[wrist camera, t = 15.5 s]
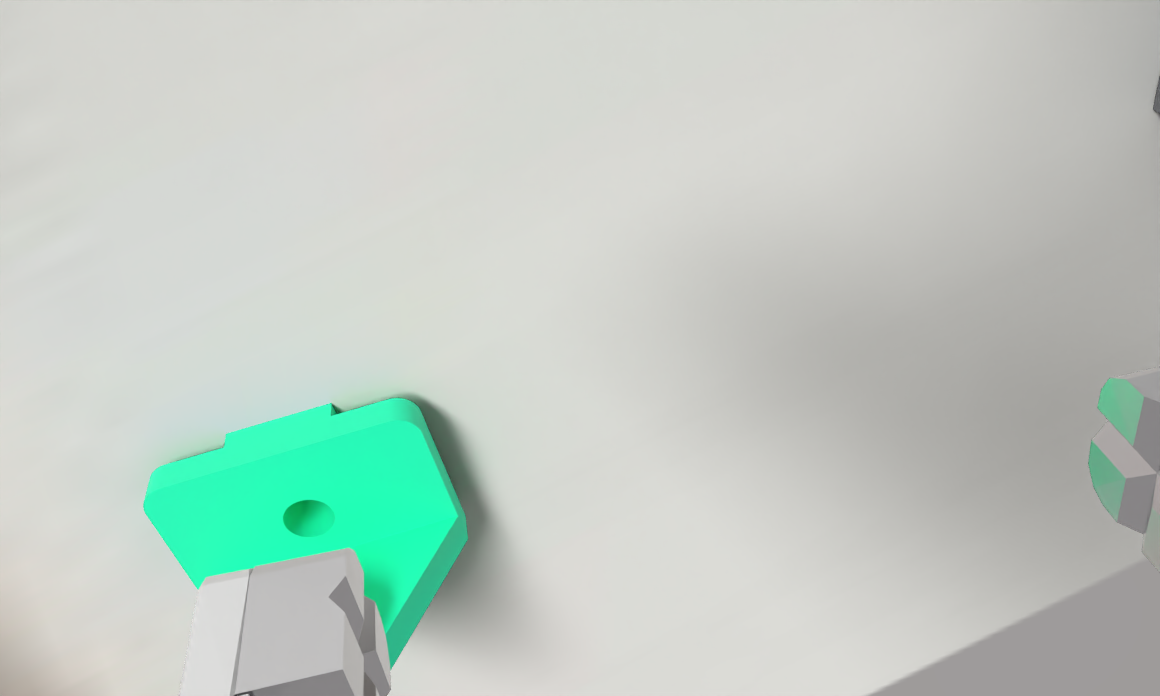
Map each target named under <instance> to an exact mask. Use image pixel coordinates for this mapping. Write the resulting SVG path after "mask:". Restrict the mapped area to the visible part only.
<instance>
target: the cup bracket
mask: <svg viewBox="0 0 1160 696" xmlns="http://www.w3.org/2000/svg"><path fill="white" fill-rule="evenodd" d="M1153 109H1154V110H1155V111H1157V112H1158V113H1160V78H1159V82H1158V87H1157V92H1156V97H1155V102H1154V107H1153Z"/></svg>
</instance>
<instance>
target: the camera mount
mask: <svg viewBox="0 0 1160 696" xmlns="http://www.w3.org/2000/svg"><path fill="white" fill-rule="evenodd" d="M143 507H144V511H145V513H146V515H147V516H148V518H149V519H150V521H151V522H152V524H153V525H154V527H155V528H156V529H157V531H158V532H159V534H160V535H161V537H162V538H163V540H164V541H165V543H166V544H167V545H168V547H169V548H170V550H171V551H172V553H173V554H174V556H175V557H176V559H177V560H178V561H179V563H180V564H181V566H182V567H183V569H184V570H185V572H186V573H187V575H188V576H189V578H190V579H191V580H192V582H193V583H194V585H195V586H196V588H197V589H199V588H200V586H201V584H202V583H203V581H204V580H205V578H206V577H209V576H214V575H219V574H225V573H230V572H235V571H240V570H246V569H251V568H254V567H255V566H259V565H265V564H270V563H275V562H280V561H285V560H290V559H295V558H300V557H305V556H310V555H315V554H320V553H325V552H330V551H335V550H340V549H345V548H351V549H353V550H355V553H356V555H357V557H358V560H359V562H360V564H361V567H362V569H363V572H364V596H366V597H368V598H370V599H371V600H373V601H375V603H376V606H377V608H378V611H379V614H380V617H381V620H382V624H383V628H384V632H385V635H386V640H387V647H388V654H389V661H390V670H391V669H392V667H393V665H394V664H395V662H396V660H397V659H398V657H399V655H400V654H401V652H402V650H403V648H404V647H405V645H406V643H407V642H408V640H409V638H410V637H411V635H412V633H413V631H414V630H415V628H416V626H417V625H418V623H419V621H420V620H421V618H422V616H423V615H424V613H425V611H426V609H427V608H428V606H429V604H430V603H431V601H432V599H433V598H434V596H435V594H436V593H437V591H438V589H439V587H440V586H441V584H442V582H443V581H444V579H445V577H446V576H447V574H448V572H449V571H450V569H451V567H452V565H453V564H454V562H455V560H456V559H457V557H458V555H459V554H460V552H461V550H462V549H463V547H464V545H465V543H466V542H467V540H468V534H467V525H466V516H465V513H464V511H463V509H462V506H461V504H460V502H459V499H458V497H457V495H456V492H455V490H454V488H453V485H452V483H451V481H450V478H449V476H448V474H447V471H446V469H445V467H444V464H443V462H442V460H441V457H440V455H439V453H438V450H437V448H436V445H435V443H434V441H433V438H432V436H431V434H430V431H429V429H428V427H427V424H426V422H425V420H424V417H423V415H422V413H421V410H420V409H419V407H418V406H417V405H416V404H415V403H413V402H412V401H409V400H407V399H403V398H392V399H387V400H384V401H381V402H377V403H374V404H370V405H367V406H363V407H360V408H357V409H353V410H350V411H346V412H343V413H340V414H336V412H335V410H334V408H333V406H332V404H331V403H330V404H326V405H323V406H320V407H316V408H313V409H309V410H306V411H302V412H299V413H296V414H292V415H289V416H285V417H282V418H279V419H275V420H272V421H268V422H265V423H262V424H258V425H255V426H251V427H248V428H245V429H241V430H238V431H234V432H231V433H228V434H226V439H225V444H224V448H220V449H217V450H213V451H210V452H207V453H203V454H200V455H196V456H193V457H190V458H186V459H183V460H179V461H176V462H172V463H169V464H166V465H163V466H160V467H159V468H157V469H156V470H155V471H154V472H153V473H152V475H151V477H150V480H149V484H148V488H147V492H146V496H145V500H144V504H143Z"/></svg>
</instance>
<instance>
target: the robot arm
mask: <svg viewBox="0 0 1160 696" xmlns="http://www.w3.org/2000/svg"><path fill="white" fill-rule="evenodd" d="M1098 409H1099V410H1100V412H1101V413H1102V414H1103V415H1104V416H1105V417H1106V419H1107V420H1108V421H1107V422H1106V424H1105V425H1104V426H1103V427H1102V428H1101V429H1100V430H1099V432H1098V433H1097V434H1096V435H1095V436H1094V437H1093V439H1092V440H1091V447H1090V455H1089V462H1088V464H1089V469H1090V473H1091V478H1092V482H1093V487H1094V489H1095V491H1096V493H1097V495H1098V497H1099V499H1100V501H1101V502H1102V504H1103V506H1104V507H1105V508H1106V510H1107V511H1108V512H1109V513H1110V514H1111V516H1112V517H1113V518H1114V519H1115V521H1116V522H1118V523H1120V524H1122V525H1124V526H1127V527H1129V528H1131V529H1133V530H1136V531H1138V532H1140V533H1142V534H1143V543H1142V553H1143V554H1144V555H1145V556H1146V557H1147V559H1148V560H1149V561H1150V562H1151V563H1152V564H1153V566H1154V567H1155V568H1156V569H1157V570H1158V571H1159V573H1160V366H1159V367H1155V368H1150V369H1146V370H1142V371H1137V372H1133V373H1129V374H1124V375H1120V376H1116V377H1112V378H1109V379H1108V381H1107V382H1106V384H1105V385H1104V386H1103V388H1102V389H1101V393H1100V398H1099V403H1098ZM390 690H391V676H390V661H389V654H388V647H387V640H386V635H385V632H384V628H383V624H382V620H381V617H380V614H379V611H378V608H377V606H376V603H375V601H373V600H371V599H370V598H368V597H366V596H364V572H363V569H362V567H361V564H360V562H359V560H358V557H357V555H356V553H355V550H353V549H351V548H345V549H340V550H335V551H330V552H325V553H320V554H315V555H310V556H305V557H300V558H295V559H290V560H285V561H280V562H275V563H270V564H265V565H259V566H255V567H254V568H251V569H246V570H240V571H235V572H230V573H225V574H219V575H214V576H209V577H206V578H205V580H204V581H203V583H202V584H201V586H200V588H199V589H198V593H197V598H196V604H195V609H194V614H193V620H192V625H191V631H190V636H189V642H188V647H187V653H186V658H185V664H184V669H183V674H182V680H181V685H180V691H179V696H387V695H388V693H389V692H390Z"/></svg>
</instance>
